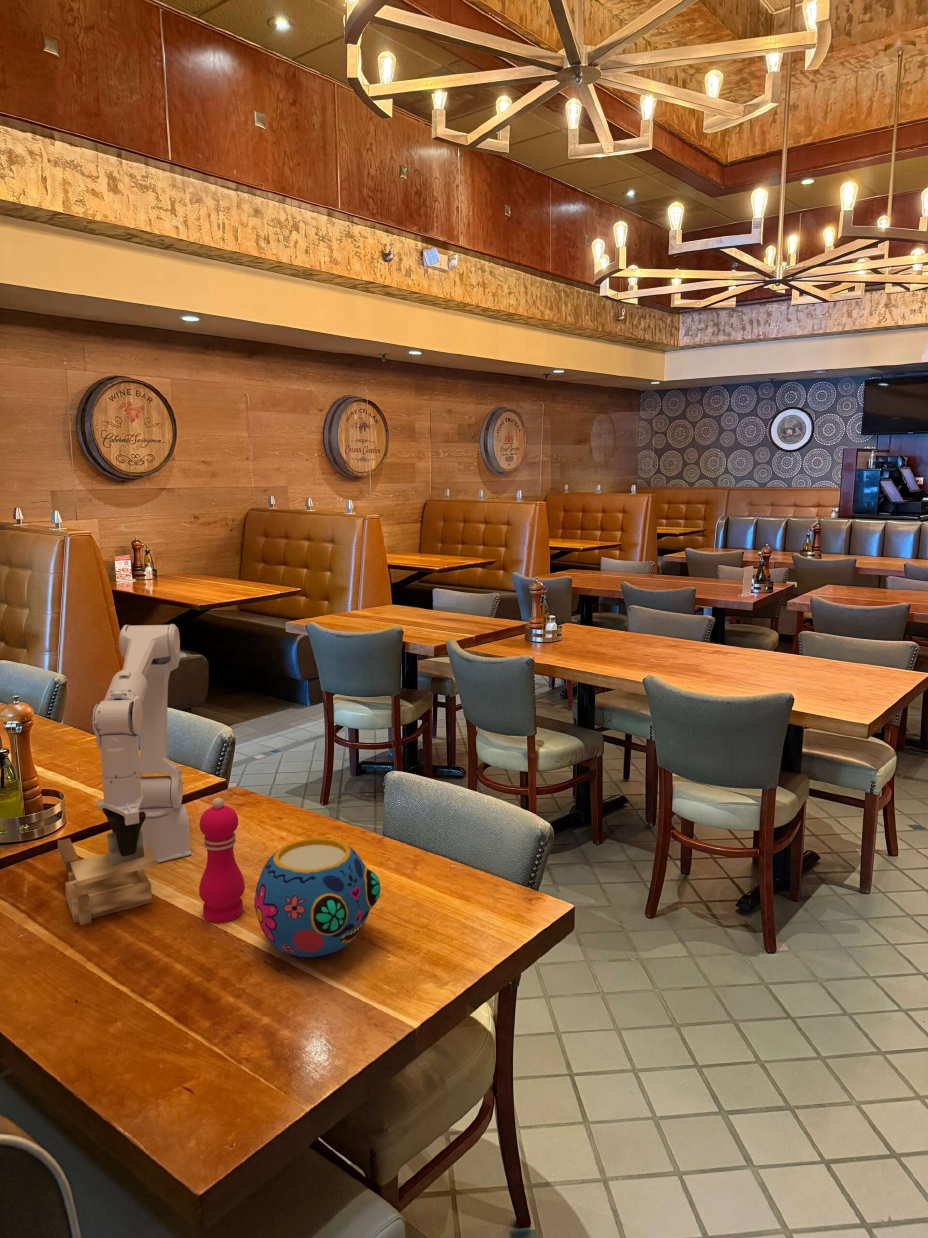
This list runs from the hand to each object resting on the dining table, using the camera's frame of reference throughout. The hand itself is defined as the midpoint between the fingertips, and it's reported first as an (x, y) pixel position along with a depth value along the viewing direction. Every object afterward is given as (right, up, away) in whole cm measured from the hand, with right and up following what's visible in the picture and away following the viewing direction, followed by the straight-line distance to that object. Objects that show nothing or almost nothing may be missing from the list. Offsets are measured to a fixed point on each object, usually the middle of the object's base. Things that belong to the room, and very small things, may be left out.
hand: (126, 851), depth 133 cm
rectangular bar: (-14, -4, +9) cm, 17 cm away
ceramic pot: (+33, -12, -9) cm, 36 cm away
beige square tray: (-4, -10, +3) cm, 11 cm away
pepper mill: (+16, -10, 0) cm, 19 cm away
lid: (-2, -2, -1) cm, 3 cm away
